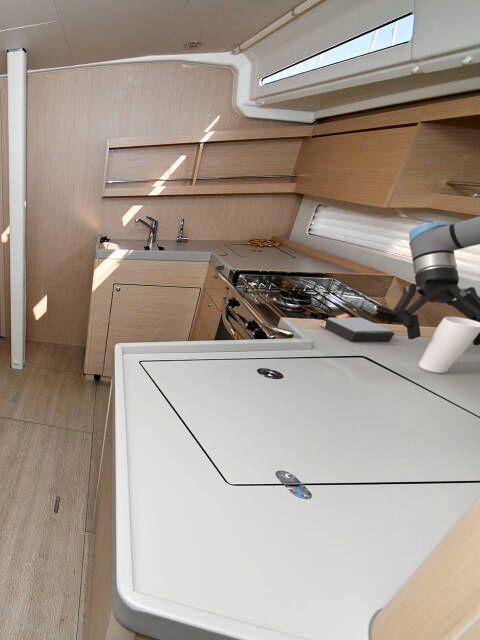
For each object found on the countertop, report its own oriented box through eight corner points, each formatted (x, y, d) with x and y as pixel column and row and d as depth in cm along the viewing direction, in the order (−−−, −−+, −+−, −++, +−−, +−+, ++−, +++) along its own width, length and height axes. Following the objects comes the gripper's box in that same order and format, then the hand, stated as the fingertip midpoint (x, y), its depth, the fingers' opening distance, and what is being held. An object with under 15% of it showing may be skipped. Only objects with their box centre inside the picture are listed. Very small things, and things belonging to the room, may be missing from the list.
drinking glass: (417, 371, 100) (449, 323, 93) (409, 360, 104) (438, 314, 98) (454, 378, 96) (490, 328, 89) (444, 367, 101) (477, 319, 94)
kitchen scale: (389, 341, 115) (395, 331, 113) (350, 341, 116) (356, 331, 114) (355, 326, 126) (361, 316, 124) (320, 326, 126) (325, 316, 125)
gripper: (479, 281, 102) (494, 350, 97) (370, 275, 110) (377, 339, 104) (510, 268, 95) (527, 341, 90) (390, 263, 103) (399, 330, 97)
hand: (447, 340), depth 97 cm, fingers open, 13 cm apart
